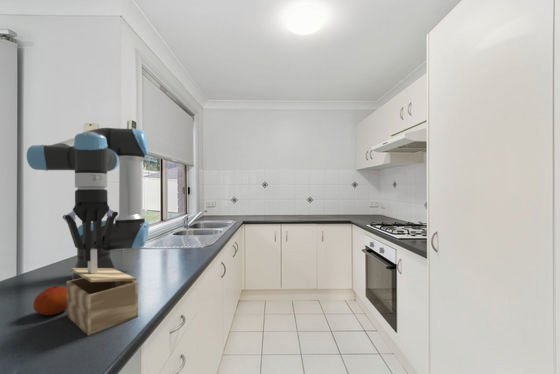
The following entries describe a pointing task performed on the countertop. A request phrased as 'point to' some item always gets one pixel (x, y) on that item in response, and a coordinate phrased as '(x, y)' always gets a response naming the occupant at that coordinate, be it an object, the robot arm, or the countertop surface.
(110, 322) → the wooden box
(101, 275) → the flap
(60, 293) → the fruit
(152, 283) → the countertop surface
